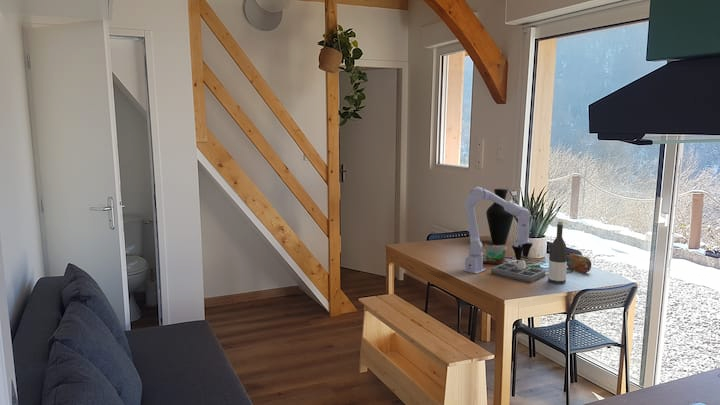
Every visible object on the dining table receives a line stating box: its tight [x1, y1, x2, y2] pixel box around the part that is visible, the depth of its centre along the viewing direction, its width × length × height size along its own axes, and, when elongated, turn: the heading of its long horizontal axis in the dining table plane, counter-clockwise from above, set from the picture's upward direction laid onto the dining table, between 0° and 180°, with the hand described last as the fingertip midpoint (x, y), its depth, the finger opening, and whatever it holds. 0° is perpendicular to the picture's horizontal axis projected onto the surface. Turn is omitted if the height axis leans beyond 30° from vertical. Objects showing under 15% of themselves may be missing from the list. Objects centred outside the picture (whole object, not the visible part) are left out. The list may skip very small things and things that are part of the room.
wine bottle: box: [547, 220, 568, 285], centre depth 246 cm, size 8×8×30 cm
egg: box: [517, 259, 527, 270], centre depth 261 cm, size 4×4×6 cm
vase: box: [485, 188, 515, 246], centre depth 325 cm, size 17×17×35 cm
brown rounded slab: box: [567, 253, 592, 274], centre depth 266 cm, size 15×3×8 cm, turn 23°
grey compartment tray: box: [490, 262, 546, 284], centre depth 259 cm, size 15×22×3 cm
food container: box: [484, 244, 508, 265], centre depth 281 cm, size 12×6×10 cm, turn 62°
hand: (521, 258), depth 261 cm, fingers open, 7 cm apart
